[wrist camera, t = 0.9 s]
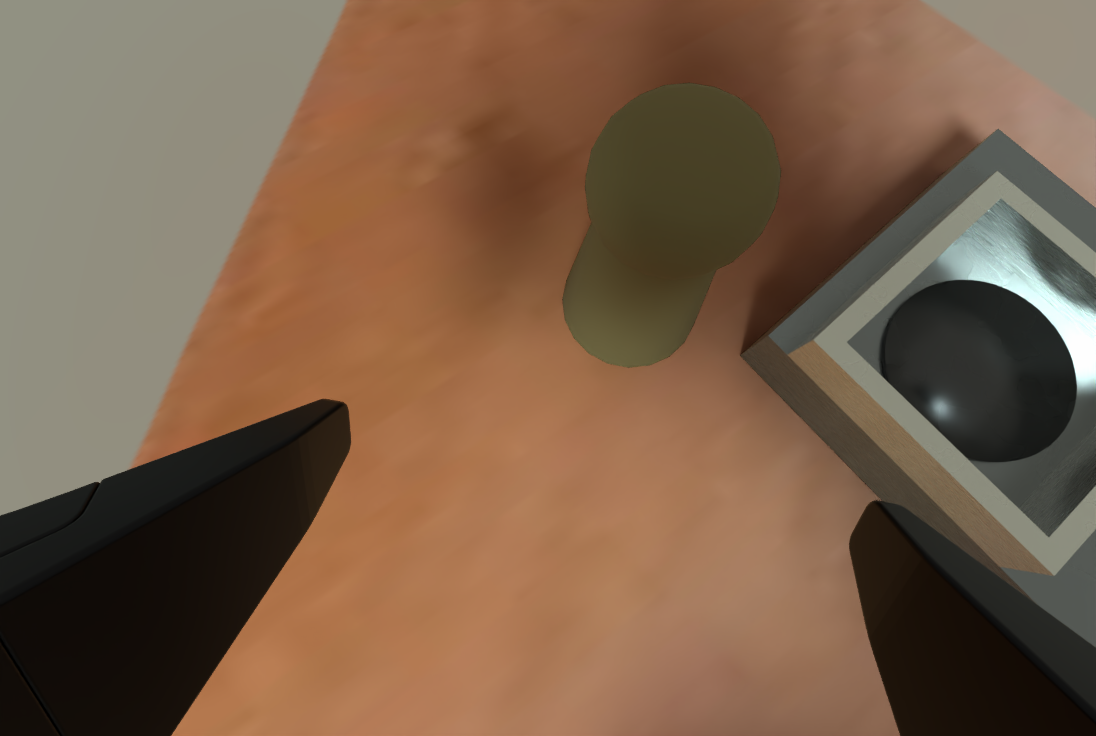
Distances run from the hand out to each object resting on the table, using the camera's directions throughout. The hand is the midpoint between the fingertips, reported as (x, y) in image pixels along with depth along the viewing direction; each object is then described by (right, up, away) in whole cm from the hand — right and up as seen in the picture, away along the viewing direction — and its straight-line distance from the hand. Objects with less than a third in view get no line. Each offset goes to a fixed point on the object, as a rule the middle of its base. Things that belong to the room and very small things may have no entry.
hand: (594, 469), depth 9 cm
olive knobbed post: (+3, +5, +15) cm, 16 cm away
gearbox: (+18, +1, +13) cm, 23 cm away
